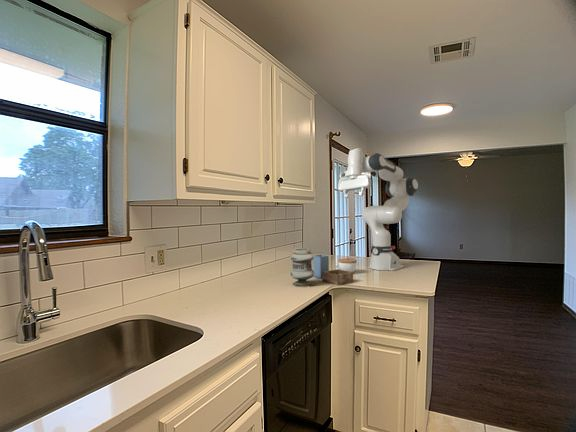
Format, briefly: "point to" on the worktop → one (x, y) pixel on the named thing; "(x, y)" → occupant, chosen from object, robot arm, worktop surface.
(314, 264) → the slate crate
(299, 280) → the apothecary jar
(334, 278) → the walnut crate
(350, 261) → the lidded jar
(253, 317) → the worktop surface
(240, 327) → the worktop surface
